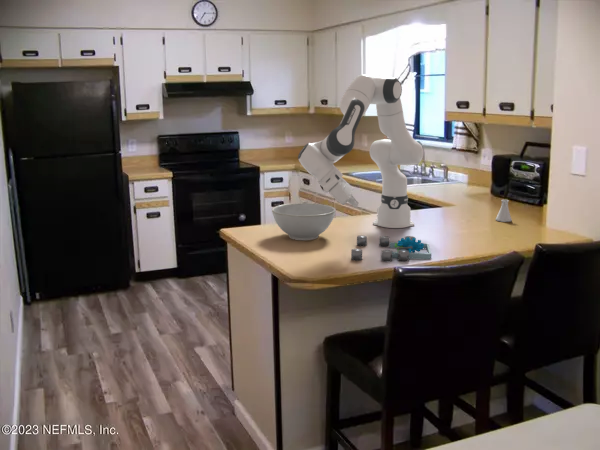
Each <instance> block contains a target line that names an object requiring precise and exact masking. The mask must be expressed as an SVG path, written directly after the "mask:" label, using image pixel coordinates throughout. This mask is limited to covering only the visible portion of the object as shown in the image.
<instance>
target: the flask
mask: <svg viewBox="0 0 600 450" xmlns="http://www.w3.org/2000/svg"><path fill="white" fill-rule="evenodd" d="M500 200H501V206H500V209H499V211H498V213H497V216H496V218H495V219H494V220H495V221H497V222H501V223H509V222H512V221H513V220H512V215H511V213H510V209H509V201H510V200H508V199H500Z"/></svg>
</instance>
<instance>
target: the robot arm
mask: <svg viewBox="0 0 600 450" xmlns="http://www.w3.org/2000/svg"><path fill="white" fill-rule="evenodd" d="M402 88H403V87H402V83H401V81H400V80H399V79H398V78H397V77H394V76H393V77H392V76H388V77H387V76H374V77H373V76H370V75H367V74H359V75H356V77H354V79H352V81H351V82H350V83H349V85H348V87H347V88H346V90H345V92H344V93H343V95H342V98H341V100H340V104H339V111H340V112H341V113H342V114H343V117H342V119H341V121H340V123H339V125H338V126H337V127H335V128H334V129H332V130H331V131H330V133H329V134H328V135H327V136H326V137H325V138H324V139H323V140H320V141H315V142H307V143H306V144H305V145H304V146H303V148H302V149H301V150H300V151H299V153H298V156H297V159H298V162H299V163H300V165H301V166H302V167H303V169H305V171H307V172H308V174H309V175H311V176H312V177H314V179H316V182H317V183H318V184H319V185H320V187H322V189H323V191H324V192H325V193H329V194H330V196H332V197H333V198H334V199H335V200H336V201H337V202H339V203H340V205H345V204H347V203H349V204H350V205H351V206H352V207H354V208H357V207H358V206H359V202H358V200H357V199H356V198H355V196H354V195H353V191H354V188H353V186H352V185H351V184H350V183H348V182H347V180H345V178H343V177H344V174H343V173H342V171H340V170H339V169H338V168H337V166H335V165H334V164H335V163H336V162H338V161H340V159H342V158H343V157H344V156H346V155H347V154H348V153H350V152H351V151H352V150H353V149H354V147H355V137H356V136H355V134H356V130H357V129H358V126H359V124H360V121H361V119H362V117H364V115H365V114H366V112H367V110H368V109H369V107H370V105H376V109H375V110H376V115H377V121H378V122H377V123H378V128H379V130H380V132H381V133H382V134H383V135H384V136H386V137H387V138H384V139H378V140H375V141H373V142H372V143H371V145H370V147H369V156H370V158H371V160H372V161H373V162H374V163H375V164H376V166H377V167H378V169H379V172H380V175H381V180H382V182H381V183H382V192H381V196H380V202H381V204H379V205H378V207H377V210H376V213H377V214H376V219H375V220H373V222H372V225H374V226H379V227H382V228H390V229H402V228H409V227H414V226H415V223H414V222H413V221H412V220H411V212H412V211H411V207H410V206H409V205H408V200H409V196H408V178H407V176H406V175H405V174H404V173H402V171H401V170H400V169H399V166H406V167H407V166H415V165H418V164H420V163H421V161H422V160H423V157H424V149H423V146H422V144H421V143H419V142H418V141H417V140H416V139H415V138H414V137H413V136H412V135H411V133H410V132H409V130H408V128H407V126H406V121H405V116H404V110H403V105H402V100H401V96H402V93H403V92H402V91H403V89H402Z"/></svg>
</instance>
